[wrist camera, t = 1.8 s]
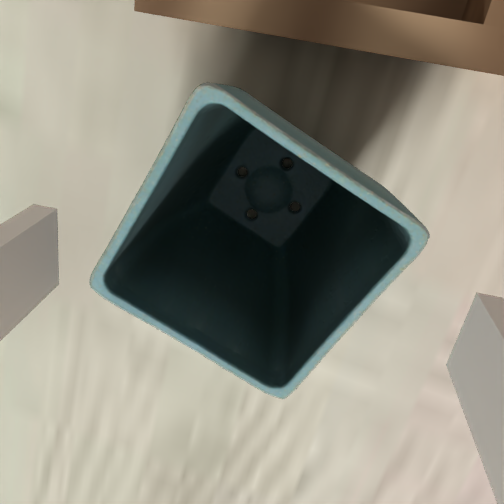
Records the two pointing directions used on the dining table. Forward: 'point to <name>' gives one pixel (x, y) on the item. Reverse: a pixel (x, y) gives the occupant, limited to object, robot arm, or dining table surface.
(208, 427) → the dining table surface
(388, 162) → the dining table surface
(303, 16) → the wooden divided tray
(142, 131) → the dining table surface
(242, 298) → the flower pot
